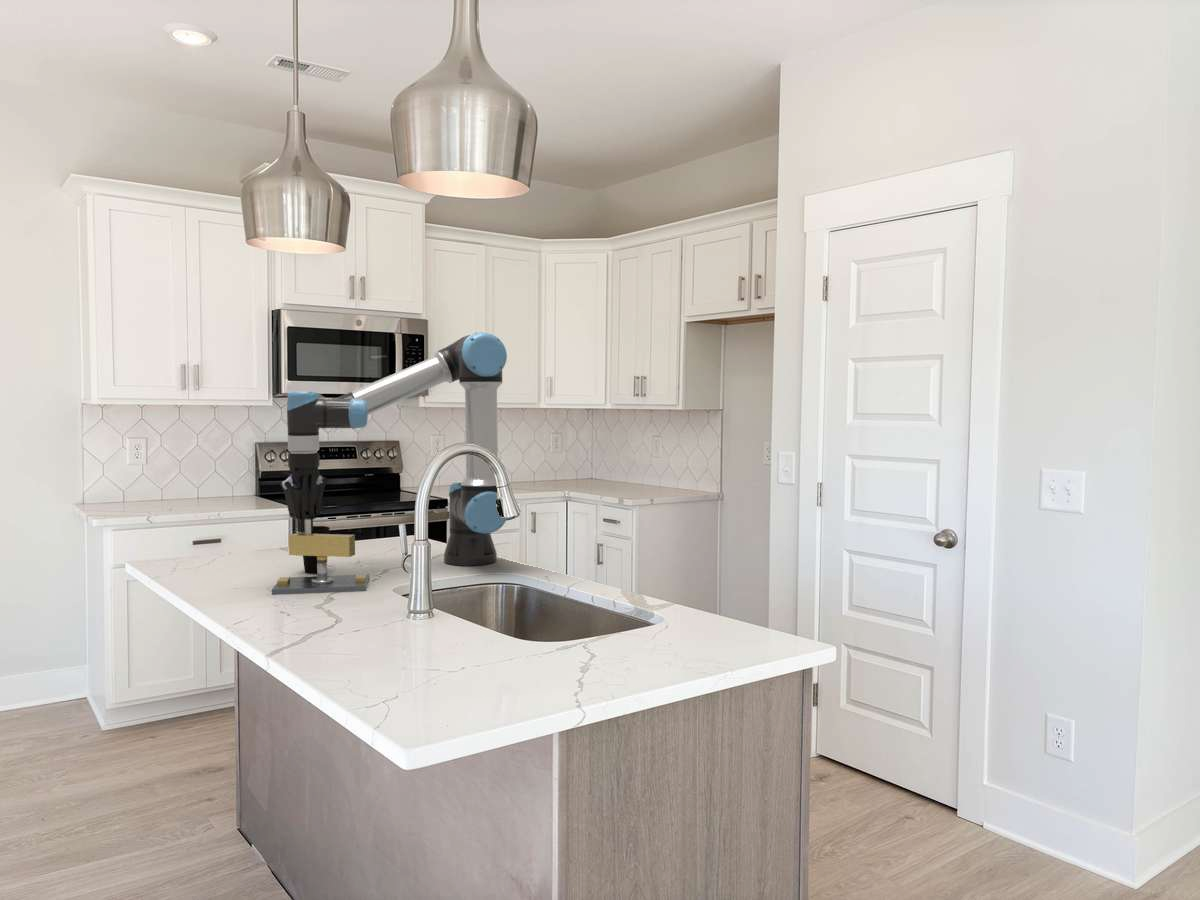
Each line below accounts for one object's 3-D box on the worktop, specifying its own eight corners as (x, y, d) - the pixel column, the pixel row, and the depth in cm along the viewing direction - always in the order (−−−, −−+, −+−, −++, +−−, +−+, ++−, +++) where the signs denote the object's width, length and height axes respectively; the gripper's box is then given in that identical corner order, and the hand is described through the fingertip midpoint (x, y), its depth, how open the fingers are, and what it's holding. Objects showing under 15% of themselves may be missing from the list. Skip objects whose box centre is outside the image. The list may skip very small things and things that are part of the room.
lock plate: (369, 578, 230) (369, 556, 230) (365, 590, 216) (365, 566, 216) (281, 582, 226) (280, 559, 225) (271, 594, 212) (271, 569, 212)
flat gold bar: (295, 558, 223) (295, 533, 223) (355, 561, 221) (354, 534, 220) (289, 561, 220) (288, 535, 220) (349, 563, 218) (349, 536, 217)
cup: (324, 574, 235) (324, 530, 234) (296, 574, 235) (295, 530, 234) (334, 569, 243) (333, 526, 242) (306, 569, 243) (305, 525, 242)
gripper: (315, 450, 230) (316, 539, 231) (272, 453, 219) (274, 546, 221) (334, 451, 226) (335, 542, 227) (291, 454, 215) (293, 549, 216)
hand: (305, 544), depth 224 cm, fingers closed
